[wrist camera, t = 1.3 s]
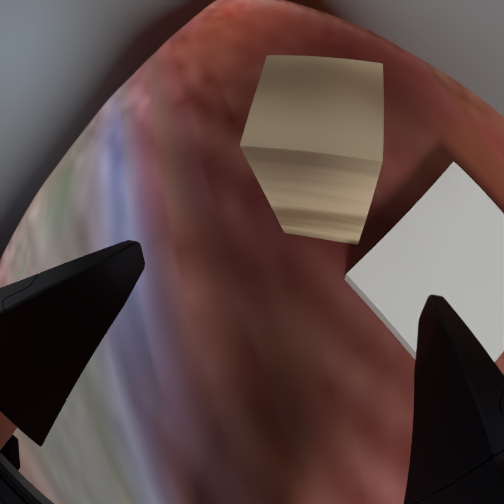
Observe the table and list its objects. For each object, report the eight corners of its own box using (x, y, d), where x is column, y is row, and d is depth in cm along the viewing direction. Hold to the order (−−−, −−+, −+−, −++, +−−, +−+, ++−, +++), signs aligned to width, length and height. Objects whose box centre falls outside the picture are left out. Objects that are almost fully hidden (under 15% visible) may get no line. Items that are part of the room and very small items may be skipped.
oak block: (357, 244, 22) (382, 161, 10) (284, 232, 23) (239, 145, 12) (365, 177, 23) (382, 63, 11) (297, 167, 24) (266, 55, 13)
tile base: (534, 281, 17) (550, 276, 14) (445, 396, 17) (457, 404, 15) (444, 176, 21) (453, 161, 18) (344, 279, 21) (346, 273, 19)
